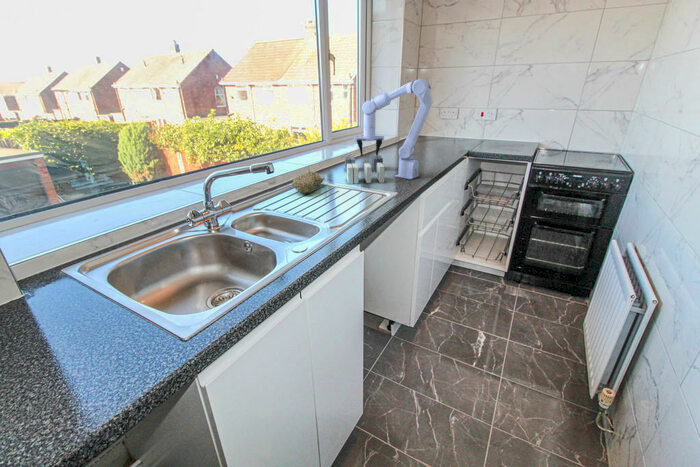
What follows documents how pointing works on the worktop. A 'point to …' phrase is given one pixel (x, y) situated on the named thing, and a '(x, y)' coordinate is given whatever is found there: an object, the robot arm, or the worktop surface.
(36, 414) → the worktop surface
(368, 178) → the white book
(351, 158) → the grey books
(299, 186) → the sponge
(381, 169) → the white books
